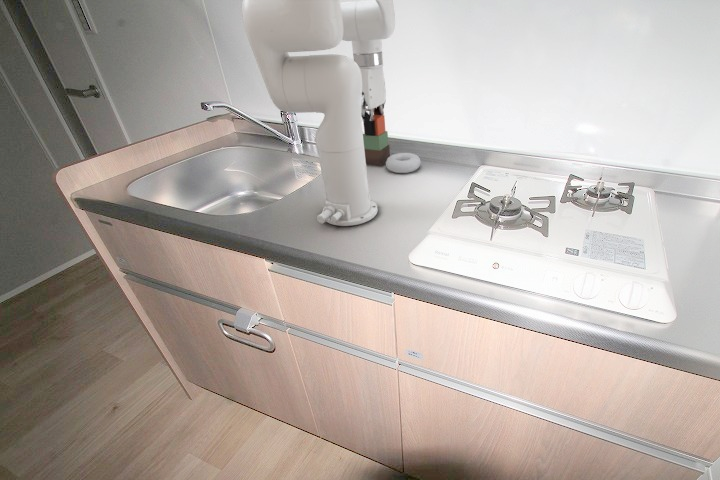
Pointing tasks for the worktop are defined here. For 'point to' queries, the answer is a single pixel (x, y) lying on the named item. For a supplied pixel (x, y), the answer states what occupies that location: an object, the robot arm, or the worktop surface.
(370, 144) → the stack middle
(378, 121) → the toy cube
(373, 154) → the stack base
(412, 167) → the donut
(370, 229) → the worktop surface
